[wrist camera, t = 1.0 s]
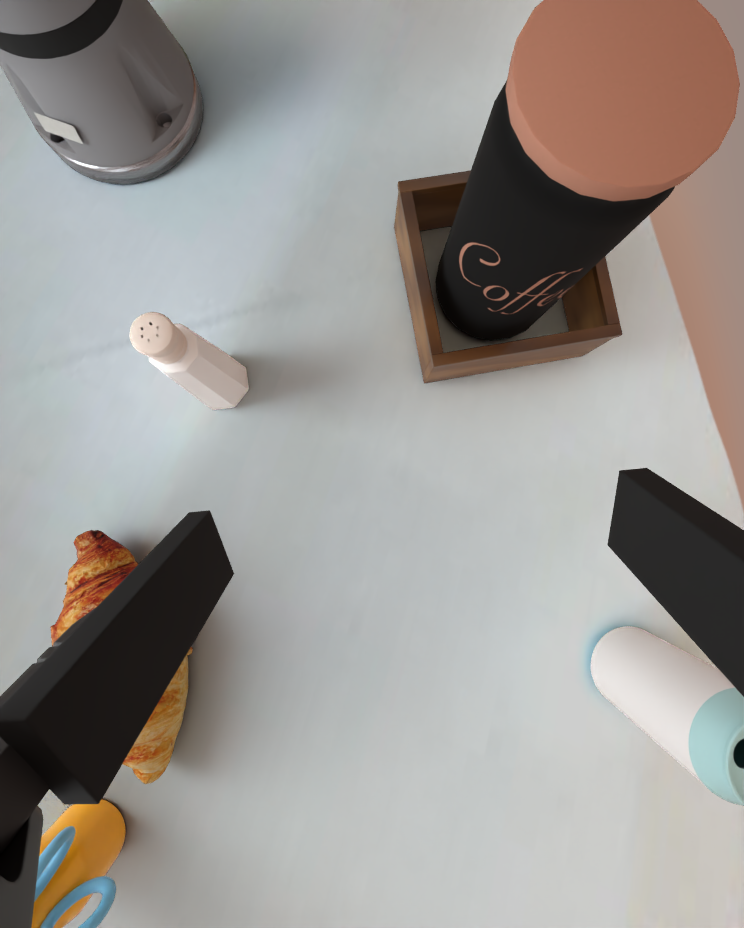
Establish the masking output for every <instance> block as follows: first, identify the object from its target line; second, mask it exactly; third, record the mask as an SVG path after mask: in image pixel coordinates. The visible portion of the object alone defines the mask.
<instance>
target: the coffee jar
mask: <svg viewBox="0 0 744 928" xmlns="http://www.w3.org/2000/svg"><path fill="white" fill-rule="evenodd" d="M739 86H740V83H739V78H738V72H737V67H736V62H735V56H734V51H733V49H732V47H731V45H730V43H729V41H728V40H727V38H726V36H725V34H724V32H723V30H722V28H721V27H720V25H719V23H718V21H717V20H716V19H715V18H714V17H713V16H712V15H711V14H710V13H709V12H708V11H707V10H706V9H705V8H704V7H703V6H702V5H701V4H700V3H699V2H698V1H697V0H544V1H542V2H541V3H540V4H539V5H538V6H537V7H535V9H534V10H533V12H532V13H531V15H530V17H529V19H528V20H527V22H526V24H525V26H524V27H523V29H522V31H521V32H520V34H519V36H518V38H517V39H516V43H515V46H514V50H513V54H512V57H511V62H510V68H509V73H508V79H507V81H506V83H505V85H504V86H503V88H502V90H501V92H500V93H499V95H498V97H497V99H496V100H495V102H494V105H493V108H492V111H491V114H490V117H489V120H488V123H487V126H486V128H485V131H484V134H483V137H482V140H481V143H480V146H479V149H478V152H477V155H476V158H475V160H474V163H473V166H472V169H471V172H470V175H469V178H468V181H467V184H466V187H465V190H464V193H463V195H462V198H461V201H460V204H459V207H458V210H457V213H456V216H455V219H454V222H453V225H452V227H451V230H450V233H449V236H448V239H447V242H446V245H445V248H444V251H443V254H442V257H441V260H440V262H439V266H438V272H437V277H436V287H437V295H438V300H439V302H440V304H441V306H442V308H443V310H444V312H445V314H446V316H447V317H448V318H449V319H450V320H451V321H452V322H453V324H454V325H455V326H456V327H457V328H458V329H460V330H462V331H464V332H466V333H467V334H469V335H471V336H473V337H477V338H482V339H487V340H497V339H506V338H511V337H513V336H515V335H518V334H520V333H522V332H524V331H526V330H527V329H528V328H529V327H530V326H531V325H532V324H534V323H535V322H536V321H537V320H538V319H539V318H540V317H541V316H542V315H543V314H544V313H545V312H546V311H547V310H548V309H550V308H551V307H552V306H553V305H554V304H555V303H556V302H557V301H558V300H559V299H560V298H561V297H562V296H563V295H564V294H565V293H567V292H568V291H569V290H570V289H571V288H572V287H573V286H574V285H575V284H576V283H577V282H578V281H579V280H580V279H581V278H582V277H584V276H585V275H586V274H587V273H588V272H589V271H590V270H591V269H592V268H593V267H594V266H595V265H596V264H597V263H598V262H599V261H601V260H602V259H603V258H604V257H605V256H606V255H607V254H608V253H609V252H610V251H611V250H612V249H613V248H614V247H615V246H616V245H618V244H619V243H620V242H621V241H622V240H623V239H624V238H625V237H626V236H627V235H628V234H629V233H630V232H631V231H632V230H633V229H635V228H636V227H637V226H638V225H639V224H640V223H641V222H642V221H643V220H644V219H645V218H646V217H647V216H648V215H649V214H650V213H652V212H653V211H654V210H655V209H656V208H657V207H658V206H659V205H660V204H661V203H662V202H663V201H664V200H665V199H666V198H667V197H668V196H669V195H670V194H671V192H672V191H673V189H674V187H675V186H676V185H678V184H680V183H681V182H682V181H684V180H685V179H686V178H687V177H688V176H690V175H691V174H692V173H693V172H694V171H695V170H696V169H697V168H699V167H700V166H701V165H702V164H703V163H704V162H705V161H706V160H707V159H708V158H709V157H710V156H711V155H712V154H714V153H715V152H716V151H717V150H718V148H719V147H720V145H721V143H722V141H723V139H724V137H725V135H726V134H727V131H728V130H729V128H730V126H731V124H732V122H733V120H734V118H735V114H736V107H737V100H738V93H739Z"/></svg>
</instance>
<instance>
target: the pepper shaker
mask: <svg viewBox="0 0 744 928" xmlns="http://www.w3.org/2000/svg"><path fill="white" fill-rule="evenodd" d="M130 340H131V343H132V345H133V346H134V348H135V349H136V350H137V351H139V352H140V353H142V354H144V355H146V356H149V362H150V363H151V364H153V365H154V366H155V367H156V368H158V369H159V370H160V371H161V372H163V373H164V374H165V375H167V376H168V377H169V378H171V379H172V380H173V381H175V382H176V383H177V384H178V385H180V386H181V387H182V388H184V389H185V390H186V391H188V392H189V393H190V394H192V395H193V396H194V397H195V398H197V399H198V400H199V401H201V402H202V403H203V404H205V405H206V406H207V407H209V408H210V409H212V410H219V409H226V408H233V407H236V406H237V404H238V403H239V402H240V400H241V399H242V398H243V397H244V395H245V394H246V393H247V392H248V390H249V386H248V378H247V370H246V367H244V366H243V365H242V364H240V363H239V362H238V361H236V360H235V359H234V358H232V357H231V356H230V355H228V354H227V353H225V352H224V351H222V350H221V349H219V348H218V347H216V346H214V345H213V344H211V343H210V342H208V341H207V340H205V339H204V338H202V337H201V336H199V335H198V334H196V333H195V332H193V331H192V330H190V329H189V328H187V327H185V326H184V325H182V324H173V323H172V322H171V320H170V319H169V318H167V317H166V316H165V315H163V314H160V313H156V312H150V313H145V314H143V315H141V316H139V317H138V318H136V320H135V321H134V322H133V324H132V326H131V328H130Z"/></svg>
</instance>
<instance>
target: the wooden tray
mask: <svg viewBox="0 0 744 928" xmlns="http://www.w3.org/2000/svg"><path fill="white" fill-rule="evenodd" d="M470 172H471V171H465V172H458V173H452V174H445V175H439V176H432V177H425V178H419V179H412V180H406V181H399V182H398V200H397V208H396V217H395V225H394V229H395V234H396V239H397V244H398V249H399V255H400V260H401V265H402V270H403V276H404V281H405V286H406V291H407V297H408V302H409V307H410V312H411V318H412V323H413V328H414V333H415V339H416V344H417V349H418V354H419V359H420V365H421V370H422V374H423V381H424V383H429V382H435V381H440V380H446V379H452V378H458V377H464V376H469V375H475V374H481V373H487V372H493V371H498V370H504V369H510V368H516V367H522V366H527V365H533V364H539V363H545V362H551V361H556V360H562V359H568V358H574V357H580V356H583V355H585V354H587V353H588V352H590V351H592V350H594V349H595V348H597V347H599V346H600V345H602V344H604V343H606V342H607V341H609V340H611V339H612V338H615V337H619V336H621V335H622V330H621V326H620V321H619V317H618V312H617V308H616V303H615V299H614V294H613V290H612V285H611V281H610V276H609V272H608V267H607V263H606V258H605V257H604V258H603V259H602V260H601V261H599V262H598V263H597V264H596V265H595V266H594V267H593V268H592V269H591V270H590V271H589V272H588V273H587V274H586V275H585V276H584V277H582V278H581V279H580V280H579V281H578V282H577V283H576V284H575V285H574V286H573V287H572V288H571V289H570V290H569V291H568V292H567V293H565V294H564V295H563V296H562V300H563V304H564V309H565V314H566V318H567V323H568V328H569V332H564V333H558V334H553V335H547V336H541V337H535V338H529V339H523V340H517V341H511V342H505V343H500V344H494V345H488V346H482V347H476V348H470V349H464V350H458V351H452V352H447V353H443V348H442V343H441V338H440V333H439V328H438V323H437V317H436V312H435V307H434V302H433V297H432V292H431V287H430V282H429V276H428V271H427V266H426V261H425V256H424V251H423V246H422V240H421V235H420V231H423V230H429V229H435V228H442V227H448V226H452V225H453V222H454V219H455V216H456V213H457V210H458V207H459V204H460V201H461V198H462V195H463V193H464V190H465V187H466V184H467V181H468V178H469V175H470Z"/></svg>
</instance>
